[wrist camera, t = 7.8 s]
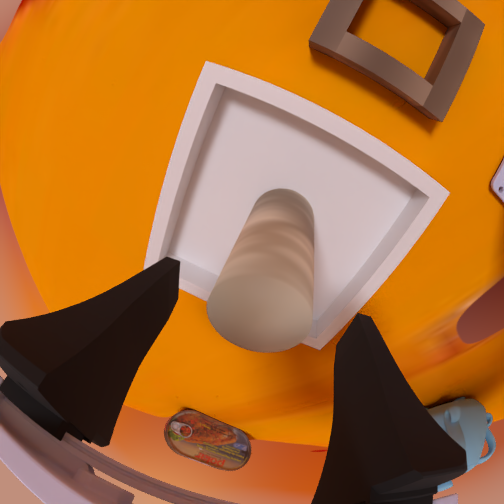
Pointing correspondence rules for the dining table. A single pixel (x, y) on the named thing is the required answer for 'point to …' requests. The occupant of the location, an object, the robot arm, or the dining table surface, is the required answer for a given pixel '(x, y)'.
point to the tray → (294, 178)
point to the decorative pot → (466, 429)
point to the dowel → (268, 277)
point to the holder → (395, 73)
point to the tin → (207, 440)
